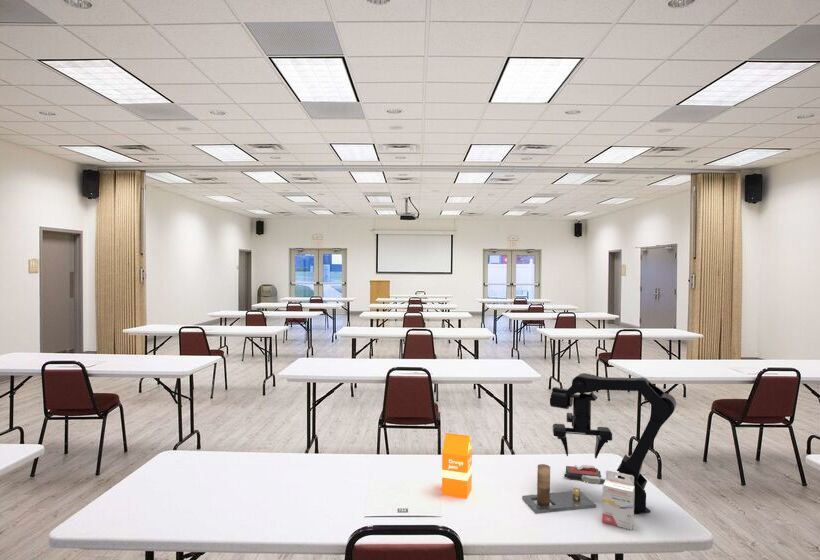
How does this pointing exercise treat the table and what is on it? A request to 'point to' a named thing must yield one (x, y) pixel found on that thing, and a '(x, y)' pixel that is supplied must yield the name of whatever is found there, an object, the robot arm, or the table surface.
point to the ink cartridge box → (618, 500)
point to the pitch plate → (561, 501)
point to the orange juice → (457, 466)
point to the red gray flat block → (584, 474)
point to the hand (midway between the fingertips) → (581, 456)
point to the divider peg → (543, 485)
